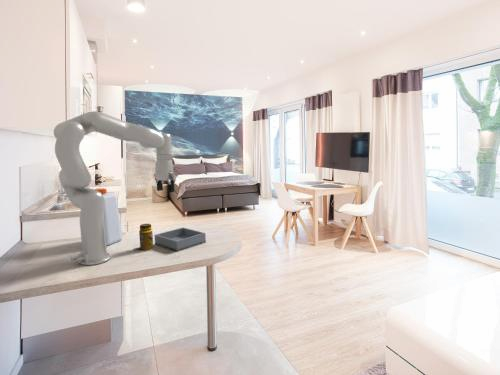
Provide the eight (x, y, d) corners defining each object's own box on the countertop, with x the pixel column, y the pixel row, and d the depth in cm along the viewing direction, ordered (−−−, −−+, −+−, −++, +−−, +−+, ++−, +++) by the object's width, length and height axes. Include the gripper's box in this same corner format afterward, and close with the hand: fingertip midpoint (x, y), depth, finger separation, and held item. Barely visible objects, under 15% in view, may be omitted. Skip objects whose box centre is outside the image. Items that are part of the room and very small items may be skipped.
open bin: (177, 251, 149) (176, 241, 148) (155, 244, 160) (154, 234, 159) (205, 242, 162) (205, 232, 162) (183, 236, 174) (182, 227, 173)
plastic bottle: (81, 245, 160) (76, 190, 157) (103, 236, 175) (99, 186, 171) (104, 248, 156) (100, 191, 152) (125, 239, 170) (122, 187, 166)
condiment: (156, 248, 154) (155, 224, 152) (139, 253, 148) (138, 228, 146) (149, 245, 159) (148, 222, 157) (133, 249, 153) (131, 225, 151)
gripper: (148, 158, 163) (149, 190, 166) (168, 158, 153) (169, 193, 155) (160, 157, 169) (161, 189, 171) (180, 158, 158) (182, 191, 161)
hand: (165, 191), depth 163 cm, fingers open, 9 cm apart
